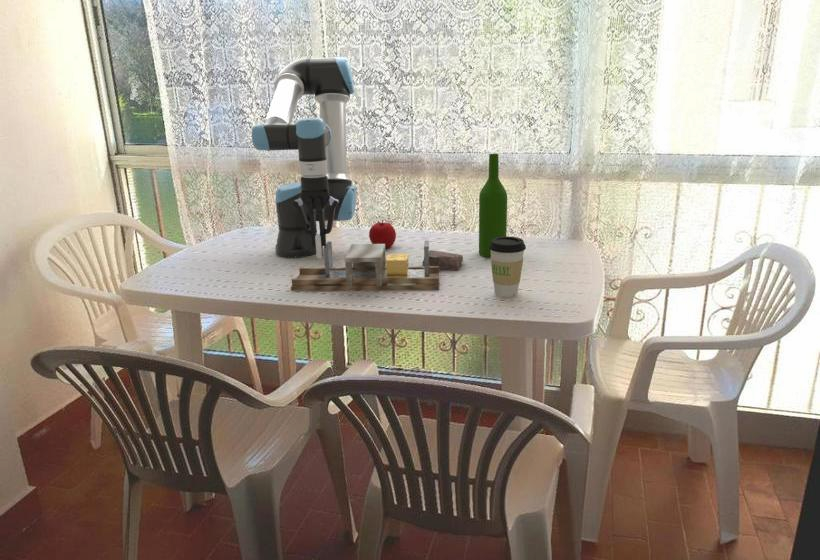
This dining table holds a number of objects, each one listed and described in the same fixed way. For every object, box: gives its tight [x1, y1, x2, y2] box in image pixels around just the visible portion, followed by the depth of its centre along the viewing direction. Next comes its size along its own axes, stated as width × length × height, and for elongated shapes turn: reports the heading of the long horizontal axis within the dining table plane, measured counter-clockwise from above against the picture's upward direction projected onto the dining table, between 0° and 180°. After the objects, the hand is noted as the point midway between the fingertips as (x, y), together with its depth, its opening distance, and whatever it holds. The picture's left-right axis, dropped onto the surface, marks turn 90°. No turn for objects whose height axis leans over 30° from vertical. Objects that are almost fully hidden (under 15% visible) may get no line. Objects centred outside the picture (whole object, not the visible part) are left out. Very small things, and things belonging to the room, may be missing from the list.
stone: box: [422, 249, 464, 271], centre depth 196 cm, size 9×12×5 cm
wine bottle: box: [478, 153, 508, 259], centre depth 201 cm, size 9×9×32 cm
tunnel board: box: [290, 243, 440, 292], centre depth 183 cm, size 42×14×10 cm, turn 87°
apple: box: [368, 219, 397, 249], centre depth 217 cm, size 9×9×10 cm
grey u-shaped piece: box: [323, 239, 430, 278], centre depth 182 cm, size 30×8×10 cm, turn 87°
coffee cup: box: [489, 235, 527, 298], centre depth 170 cm, size 10×10×15 cm
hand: (320, 256), depth 182 cm, fingers closed
